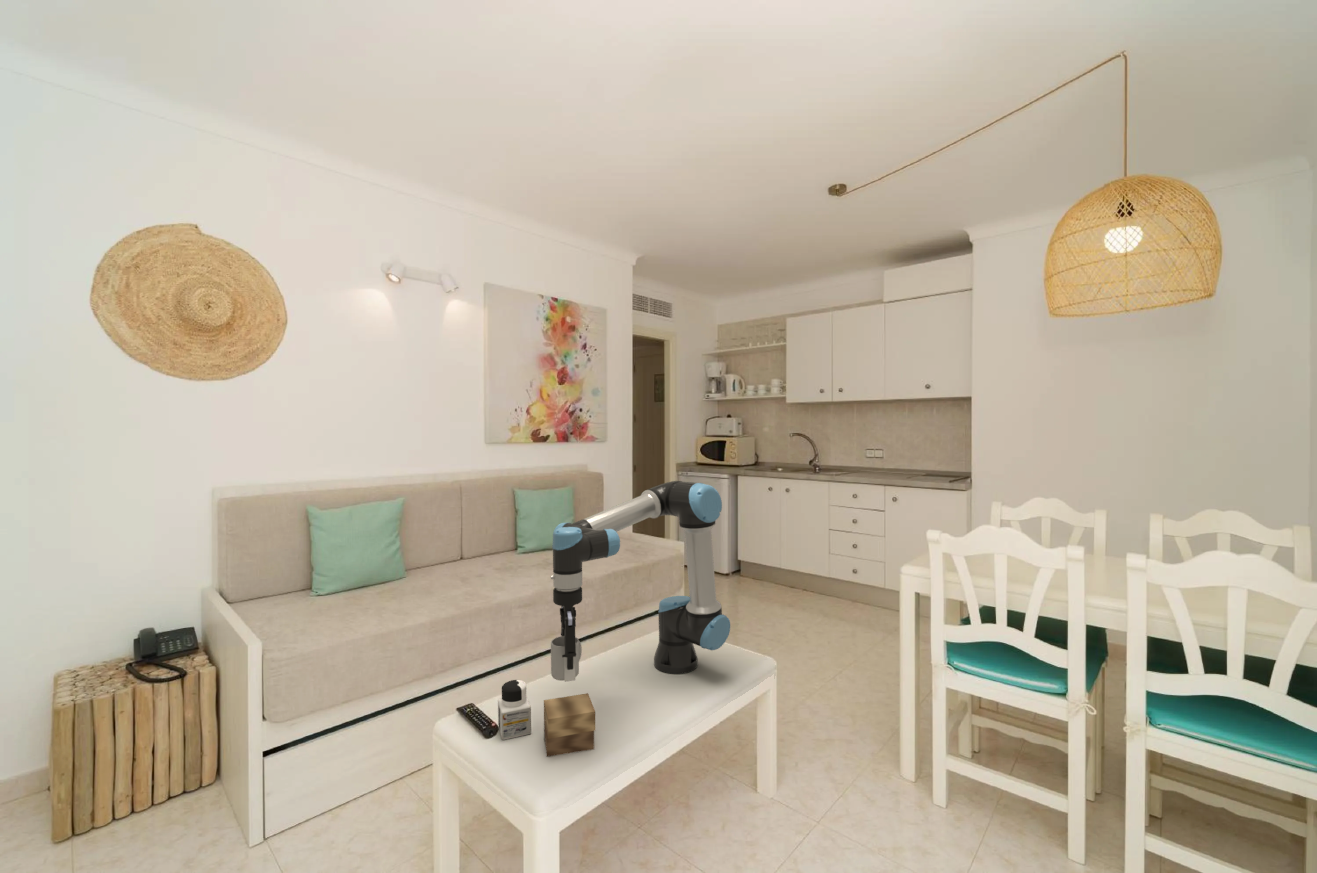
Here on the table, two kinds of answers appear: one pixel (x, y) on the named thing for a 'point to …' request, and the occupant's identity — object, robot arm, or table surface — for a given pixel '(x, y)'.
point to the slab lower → (568, 743)
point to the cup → (557, 659)
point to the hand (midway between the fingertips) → (568, 672)
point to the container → (514, 710)
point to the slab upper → (569, 715)
